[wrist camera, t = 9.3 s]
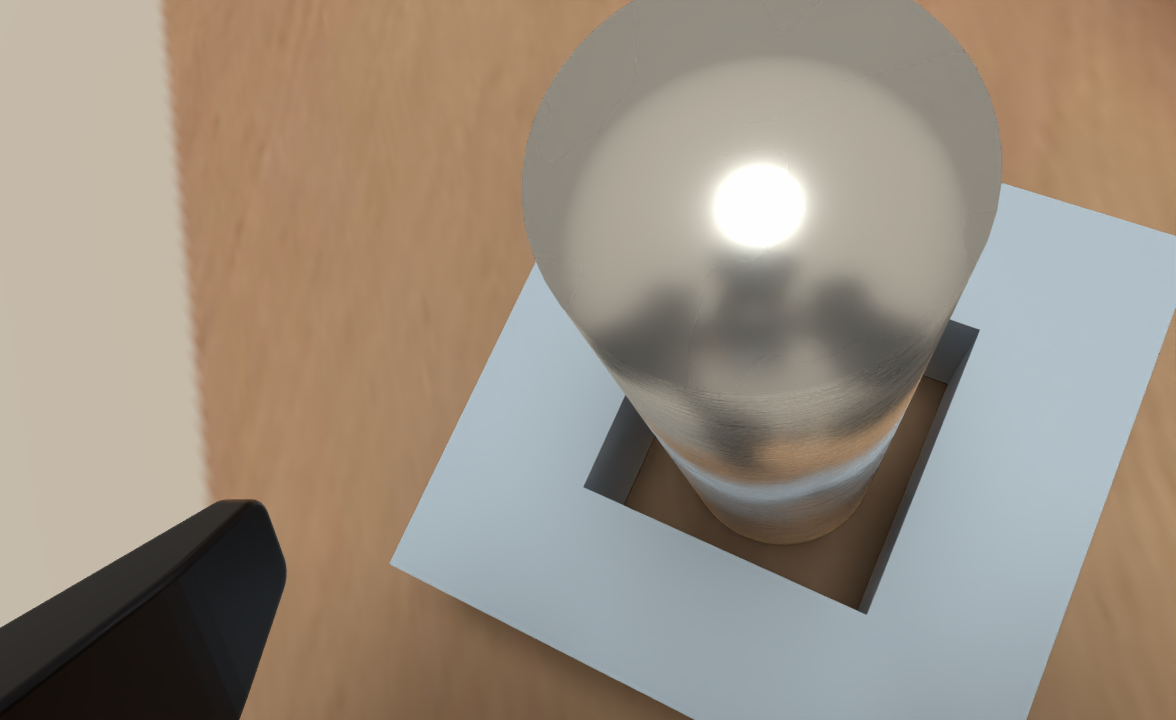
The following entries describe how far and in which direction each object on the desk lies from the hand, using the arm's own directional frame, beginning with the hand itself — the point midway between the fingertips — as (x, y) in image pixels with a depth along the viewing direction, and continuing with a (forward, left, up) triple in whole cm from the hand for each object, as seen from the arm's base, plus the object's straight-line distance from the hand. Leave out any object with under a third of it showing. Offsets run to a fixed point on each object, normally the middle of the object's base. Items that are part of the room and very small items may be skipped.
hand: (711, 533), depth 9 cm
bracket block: (+3, +1, -12) cm, 13 cm away
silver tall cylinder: (+3, +1, -12) cm, 13 cm away
